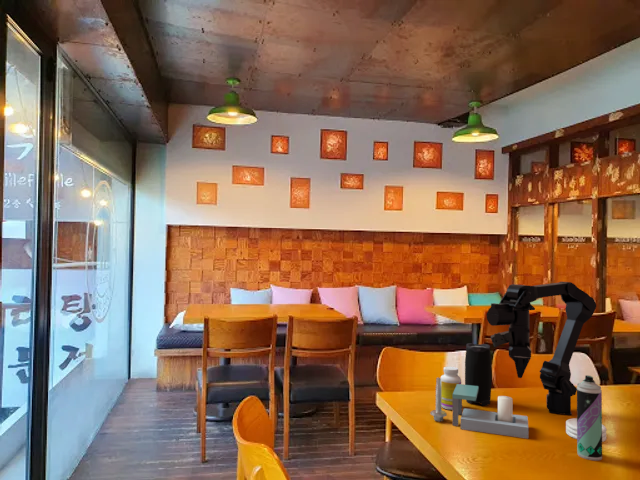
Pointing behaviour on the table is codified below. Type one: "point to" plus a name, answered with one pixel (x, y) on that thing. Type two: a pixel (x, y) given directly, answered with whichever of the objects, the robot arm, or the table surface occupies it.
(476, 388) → the l-shaped bracket
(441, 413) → the screw
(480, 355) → the portable speaker
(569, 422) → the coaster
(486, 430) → the socket board
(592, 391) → the spray can
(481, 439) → the table surface
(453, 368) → the supplement bottle
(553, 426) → the table surface
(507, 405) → the peg
